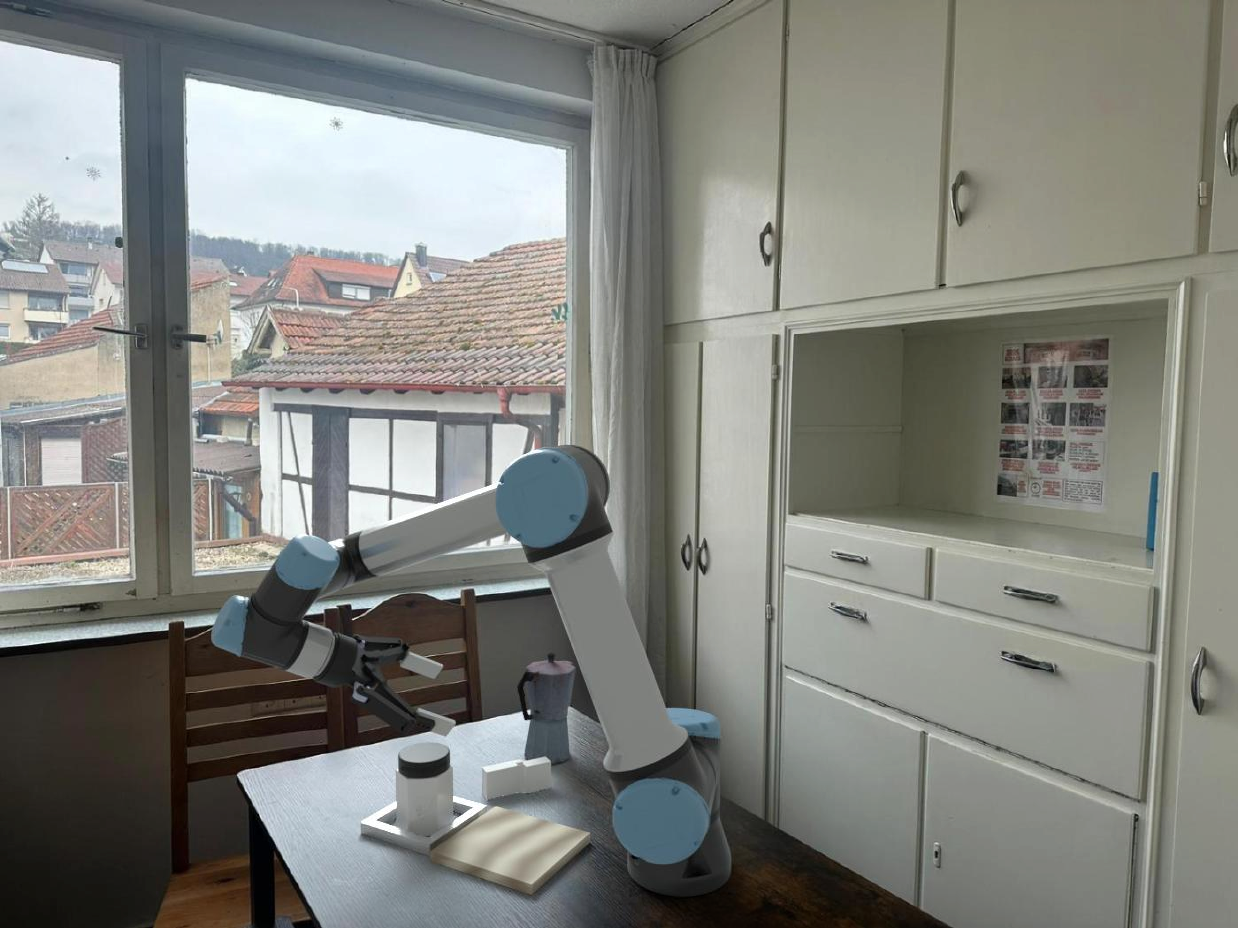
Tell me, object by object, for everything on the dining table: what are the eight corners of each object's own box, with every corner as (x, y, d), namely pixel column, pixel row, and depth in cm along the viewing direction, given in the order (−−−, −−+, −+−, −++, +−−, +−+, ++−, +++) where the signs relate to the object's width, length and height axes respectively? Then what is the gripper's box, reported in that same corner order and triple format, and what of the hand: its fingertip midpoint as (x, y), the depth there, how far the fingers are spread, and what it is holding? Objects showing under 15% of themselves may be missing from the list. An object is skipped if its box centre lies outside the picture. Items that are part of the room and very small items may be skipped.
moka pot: (590, 748, 167) (590, 648, 165) (542, 778, 154) (541, 669, 152) (551, 738, 172) (550, 641, 170) (501, 766, 159) (500, 661, 157)
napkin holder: (467, 806, 144) (467, 773, 144) (489, 777, 155) (488, 746, 155) (553, 813, 141) (553, 780, 141) (569, 783, 153) (569, 752, 152)
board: (590, 842, 131) (590, 832, 131) (531, 894, 117) (531, 884, 117) (495, 814, 140) (495, 805, 140) (430, 860, 126) (430, 851, 126)
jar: (393, 839, 132) (392, 764, 131) (399, 814, 140) (398, 743, 139) (452, 835, 133) (451, 761, 132) (454, 810, 141) (454, 740, 140)
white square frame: (487, 815, 140) (486, 805, 139) (429, 855, 127) (429, 844, 127) (421, 796, 146) (421, 786, 146) (360, 833, 134) (360, 822, 134)
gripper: (308, 624, 137) (421, 666, 147) (309, 733, 116) (442, 773, 126) (333, 588, 135) (446, 634, 146) (339, 692, 114) (470, 736, 125)
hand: (444, 698), depth 136 cm, fingers open, 13 cm apart
